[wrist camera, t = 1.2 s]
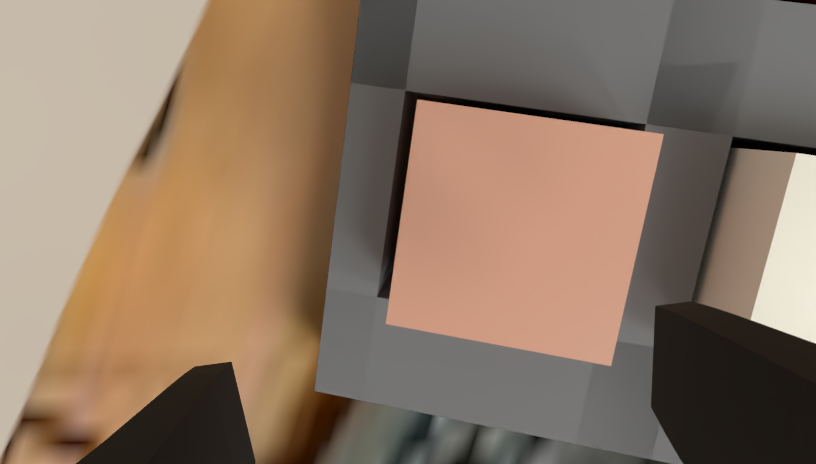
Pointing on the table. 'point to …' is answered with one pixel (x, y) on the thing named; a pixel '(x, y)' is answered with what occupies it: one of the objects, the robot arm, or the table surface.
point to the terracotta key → (520, 229)
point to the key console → (570, 97)
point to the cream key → (764, 242)
